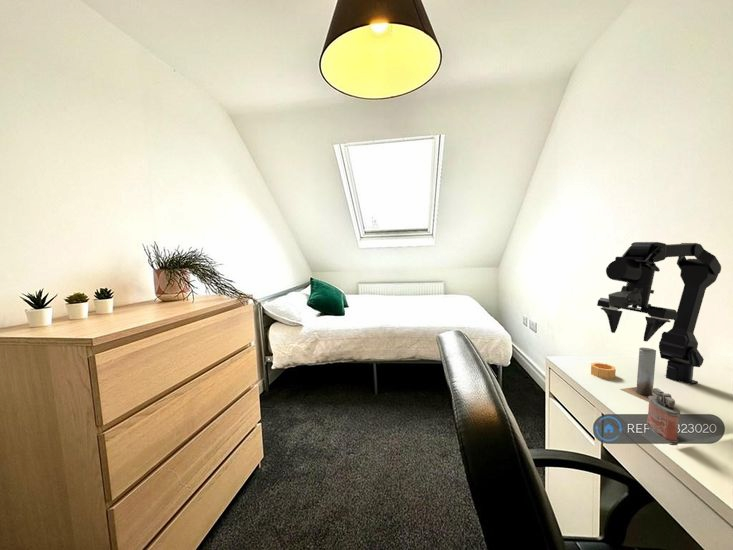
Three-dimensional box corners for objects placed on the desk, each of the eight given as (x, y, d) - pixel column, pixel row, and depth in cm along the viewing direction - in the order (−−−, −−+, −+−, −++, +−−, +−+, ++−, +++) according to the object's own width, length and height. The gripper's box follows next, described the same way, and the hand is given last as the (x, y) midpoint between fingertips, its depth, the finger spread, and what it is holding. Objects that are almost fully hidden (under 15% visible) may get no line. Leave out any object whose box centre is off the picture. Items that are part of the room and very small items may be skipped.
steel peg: (642, 390, 97) (646, 347, 96) (655, 395, 94) (659, 351, 93) (632, 391, 96) (636, 348, 95) (645, 397, 93) (649, 352, 92)
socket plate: (601, 370, 114) (601, 360, 114) (626, 381, 106) (627, 370, 105) (579, 372, 112) (580, 362, 112) (603, 383, 104) (604, 372, 103)
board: (640, 388, 100) (641, 386, 100) (670, 401, 92) (670, 398, 92) (619, 391, 98) (619, 389, 98) (647, 404, 90) (647, 401, 90)
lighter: (682, 446, 72) (686, 402, 71) (664, 444, 73) (668, 400, 72) (658, 426, 80) (661, 386, 79) (641, 424, 80) (645, 385, 79)
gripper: (588, 277, 103) (579, 326, 104) (655, 285, 86) (643, 344, 86) (614, 282, 107) (605, 329, 107) (684, 290, 89) (672, 347, 90)
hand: (628, 336), depth 98 cm, fingers open, 9 cm apart
